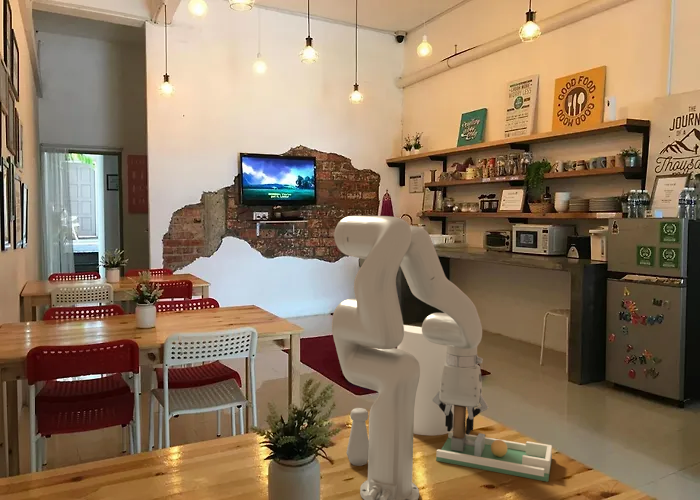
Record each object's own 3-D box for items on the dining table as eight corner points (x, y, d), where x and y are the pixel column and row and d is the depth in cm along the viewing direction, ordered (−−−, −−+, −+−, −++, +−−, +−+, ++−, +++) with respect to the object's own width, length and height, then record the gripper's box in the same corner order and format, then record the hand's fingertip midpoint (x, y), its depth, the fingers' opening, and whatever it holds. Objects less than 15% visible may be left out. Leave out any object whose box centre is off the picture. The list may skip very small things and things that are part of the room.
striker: (480, 456, 139) (481, 412, 138) (450, 451, 141) (451, 408, 141) (484, 447, 144) (486, 405, 143) (455, 442, 147) (456, 400, 146)
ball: (506, 460, 137) (506, 444, 137) (489, 457, 139) (489, 441, 138) (508, 454, 141) (508, 438, 141) (491, 451, 142) (492, 436, 142)
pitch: (548, 481, 129) (548, 464, 129) (436, 460, 139) (436, 444, 139) (551, 457, 142) (552, 442, 141) (449, 440, 152) (449, 425, 151)
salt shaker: (368, 468, 134) (369, 414, 133) (344, 466, 135) (345, 412, 134) (372, 458, 139) (373, 406, 138) (349, 456, 140) (350, 404, 140)
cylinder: (441, 440, 152) (444, 337, 150) (384, 426, 161) (387, 329, 159) (464, 421, 166) (467, 326, 165) (411, 409, 175) (413, 320, 174)
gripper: (497, 360, 142) (495, 431, 144) (432, 353, 149) (430, 421, 150) (493, 367, 136) (490, 442, 137) (425, 359, 142) (423, 430, 143)
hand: (459, 430), depth 143 cm, fingers open, 4 cm apart
